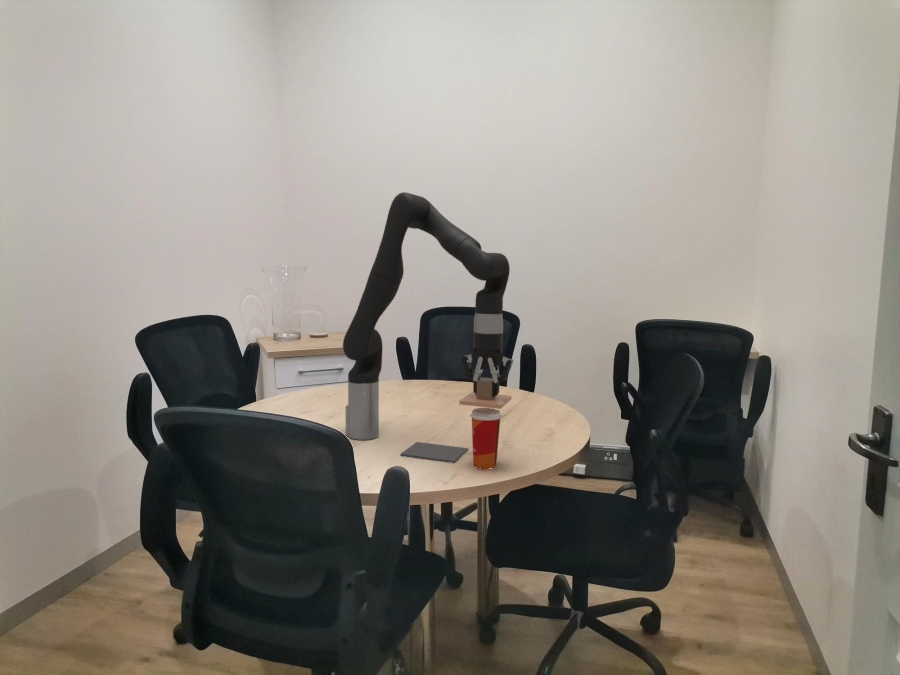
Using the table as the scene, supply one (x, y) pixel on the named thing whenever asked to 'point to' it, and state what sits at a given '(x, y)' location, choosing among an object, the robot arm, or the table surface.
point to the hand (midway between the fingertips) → (486, 395)
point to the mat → (434, 452)
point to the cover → (485, 396)
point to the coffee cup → (485, 437)
